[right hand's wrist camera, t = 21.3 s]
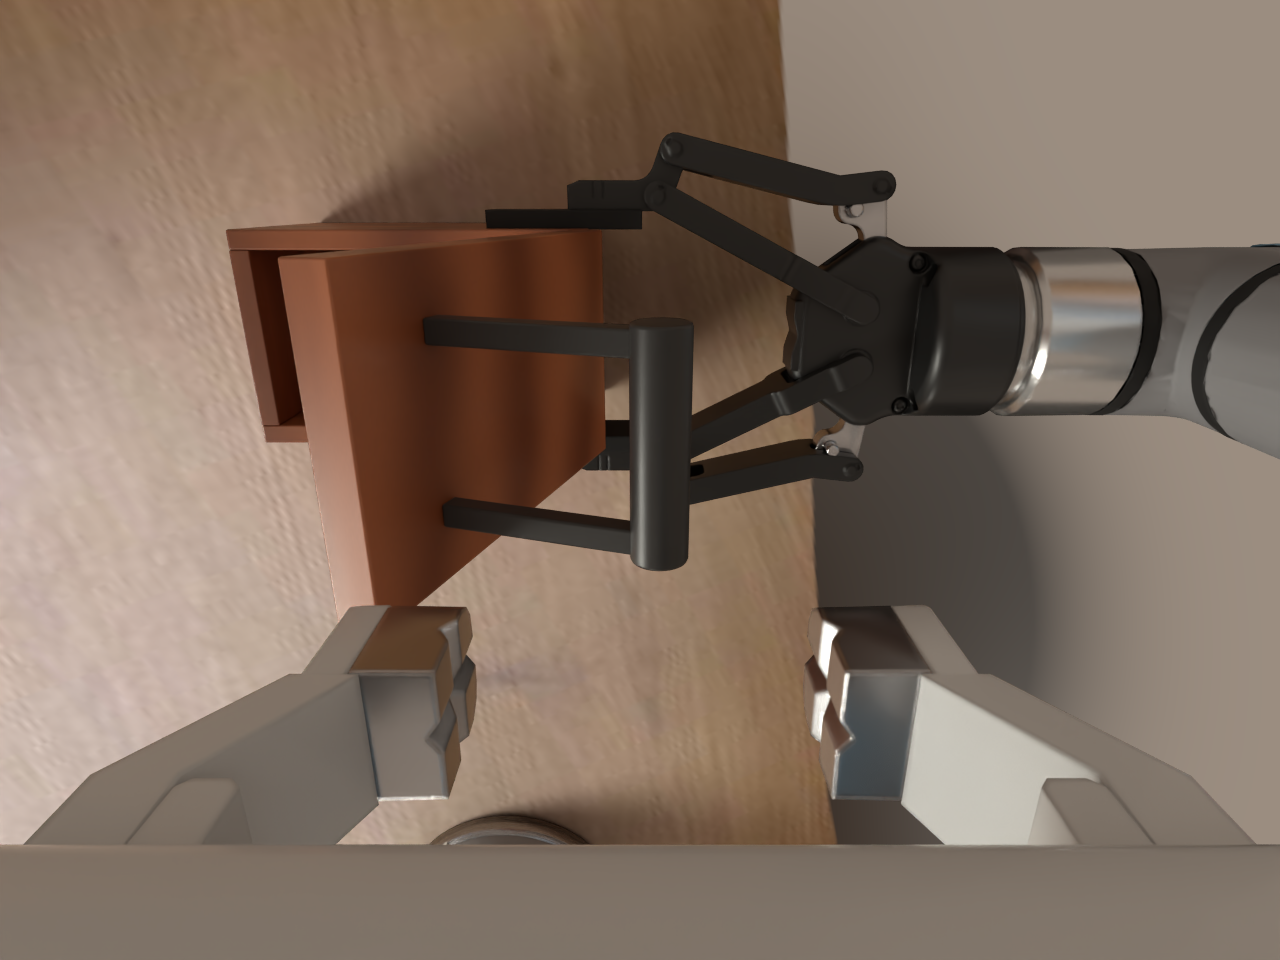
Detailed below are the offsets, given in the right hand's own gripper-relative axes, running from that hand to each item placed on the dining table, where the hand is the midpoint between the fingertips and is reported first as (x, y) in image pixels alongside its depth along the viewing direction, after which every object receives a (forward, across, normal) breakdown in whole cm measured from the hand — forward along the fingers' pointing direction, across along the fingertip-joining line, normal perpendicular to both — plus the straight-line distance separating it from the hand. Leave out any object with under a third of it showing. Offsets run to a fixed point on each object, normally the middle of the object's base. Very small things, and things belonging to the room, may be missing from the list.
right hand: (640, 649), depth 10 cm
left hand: (+26, -6, 0) cm, 26 cm away
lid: (+15, -5, 0) cm, 16 cm away
